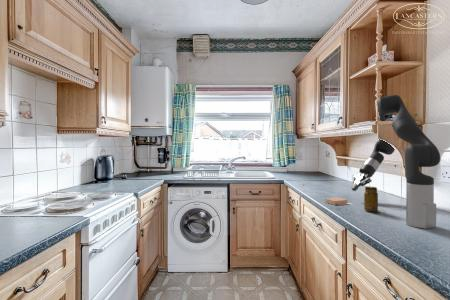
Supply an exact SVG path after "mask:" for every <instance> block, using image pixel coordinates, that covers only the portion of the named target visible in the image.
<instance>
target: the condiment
mask: <svg viewBox="0 0 450 300" xmlns="http://www.w3.org/2000/svg"><path fill="white" fill-rule="evenodd" d="M363 209H364V212H365V213H372V214H377V215H378V214H383V213H384V212H385V211H383V210H379V193H378V188H377V187H376V186H365V188H364V193H363ZM378 211H379V212H378Z"/></svg>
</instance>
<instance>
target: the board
mask: <svg viewBox="0 0 450 300" xmlns="http://www.w3.org/2000/svg"><path fill="white" fill-rule="evenodd" d="M352 204H353V203H351V202H349V201H347V204H339V205H338V206H344V205H352Z"/></svg>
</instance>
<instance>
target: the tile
mask: <svg viewBox="0 0 450 300" xmlns="http://www.w3.org/2000/svg"><path fill="white" fill-rule="evenodd" d="M324 202H325V203H326V204H330V205H334V206H336V205H337V206H340V205H339V204H346V205H348V204H347V202H348V199H345V198H343V197H330V198H328V197H327V198H325V201H324Z"/></svg>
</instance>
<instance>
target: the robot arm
mask: <svg viewBox="0 0 450 300" xmlns="http://www.w3.org/2000/svg"><path fill="white" fill-rule="evenodd" d="M377 105H378V112H379V116H380V120H381V121H385V120H387V118H386V117H385V115H389V114H395V113H396V115H395V116H394V118H393V120H392V122H391V125H392V127H393V132H394V133H395V134H396V136H398V138H399V139H401V140H402V141H404V142H407V143H408V145H407V146H406V148H405V151H404V165H405V179H406V185H405V186H406V189H405V190H406V191H405V193H406V194H405V196H406V197H405V199H406V201H405V221H406V222H405V224H406V225H408V226H411V227H414V228H419V229H420V228H421V229H426V230H427V229H434V228H437V203H435V202H434V200H435V199H434V198H435V196H434V195H435V179H434V176H430V175H427V174H424V173H422V172H421V171H420V168H431V167H436V166H438V165H439V164H440V161H441V153H440V151H439V149H438V147H437V145H435V143H434V142H433V141H431V140H430V139H429V137H427V135H426V134H425V133H424V131H423V130H422V129H421V128H420V126H419V124H418V123H417V121H416V120H415V118H413V115H411V114H410V111H408V109H407V107H406V105H405V103H404V101H403V99H402V97H401V96H400V95H398V94H391V95H386V96H381V97H379V98H378V99H377V101H376V106H377ZM395 150H396V148H395V149H394V148H393V147H392V146H391V145H390V144H388V143H387V142H385V141H383V140H380V139H379V138H378V140H377V141H376V142H375V144H374V146H373V149H372V152H371V154H370V156H369V157H368V158H367V159H366V160H365V162H364V163H363V164H362V166H360V168H359V172H358V173H357V174H356V175H352V176H351V180H352V181H351V182H352V183H353V184H352V187H351V190H352V191H353V192H356V191H357V190H358V189H359V188H360V187H364V186H366V185H367V184H370V183H372V179H371V178H373V175H374V174H375V173H376V172H377V170H378V169H379V167H380V165H381V164H382V163H383V162H384V160H385V157H384V155H383V154H385V155H386V156H387V155H388V156H389V155H392V154H393V153H394V152H395Z"/></svg>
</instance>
